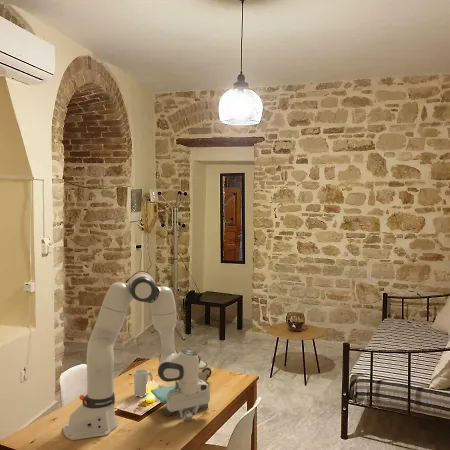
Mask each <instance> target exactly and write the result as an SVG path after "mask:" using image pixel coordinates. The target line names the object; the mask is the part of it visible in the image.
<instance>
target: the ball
mask: <svg viewBox="0 0 450 450" xmlns="http://www.w3.org/2000/svg"><path fill="white" fill-rule="evenodd" d="M164 414H165V415H166V416H167V417H169V416H172V415H173V414H174V411H173V412H170V411H169V410H168V409H167V407H165V408H164Z"/></svg>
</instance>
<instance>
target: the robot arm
mask: <svg viewBox="0 0 450 450" xmlns="http://www.w3.org/2000/svg"><path fill="white" fill-rule="evenodd" d="M133 300H136V301H138V302H142V303H148V304H149V306H150V314H151V315H150V316H151V320H152V324H153V327H154V329H155V331H157V332H158V333H159V337H160V344H161V352H160V355H159V359H158V367H157V375H158V377H159V378H160V380H162V381H163V382H165V383H167V382H168V383H169V382H175V381H177V380H179V388H178V389H174V390H170V391H169V392H170V393H169V392H168V393H167V403H166V404H165V405H166V407H167V409H168V410H169V411H170V412H173V413H174V412H177V411H178V413H179V417H180V419H185V414H184V413H182V412H181V411H183V409H186V408H190V407H194V406H195V408H194V410H193V411H192V414H193V416H197V412H198V411H199V410H198V408H199V405H203V404H207V403H208V404H209V403H210V401H211V392H210V390H209V387H210V386H209V384H208V383H207V381H206V382H204V381H203V380H199V378H198V372H199V357H198V356H199V355H198V354H197V352H196V351H194V350H191V349H186V348H185V349H182V350H180V351H179V352H178V350H177V349H176V340H175V339H176V338H175V329H176V326H177V320H178V319H177V314H178V313H177V305H176V301H175V295H174V293H173V290H172V289H171V288H170V287H169V286H164V285H162V286H158V285H157V284H156V282H155V279H154V277H153V276H152V274H151V273H149V272H147V271H143V270H139V271H137V272H135V273H133V274H132V275H131V276H130V277H129V278H128V279H126V281H125V282H121V281H120V282H119V281H118V282H114V283H112V284H111V285H110V286H109V288H108V290H107V291H106V294H105V295H104V298H103V300H102V303H101V307H100V310H99V313H98V316H97V318H96V322H95V324H94V326H93V329H92V332H91V334H90V337H89V339H88V343H87V347H86V348H87V350H86V385H87V386H86V390H87V391H86V395H84V394H80V396H78V397H79V400H80V401H82V404H81V405H80V406H78V407H77V408H76V409H74V411H72V412H71V413H70V415H69V418H68V423H65V424H64V425H63V427H62V432H63V435H64V436H65V437H66V438H67V439H68V440H70V441H75V440H83V439H88V438H89V439H90V438H96V437H103V436H108V435H110V433H111V432H112V431H113V430H115V429H116V428H117V426H118V421H117V417H116V413H115V405H116V404H115V403H116V396H115V395H116V394H115V392H114V371H115V370H114V367H115V366H114V365H115V364H114V363H115V362H114V360H115V359H114V358H115V354H114V353H115V349H114V347H115V343H116V341H117V339H118V336H119V334H120V332H121V330H122V327H123V324H124V322H125V318H126V315H127V312H128V310H129V306H130V304H131V302H132V301H133ZM166 407H165V408H166Z"/></svg>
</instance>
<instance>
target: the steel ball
mask: <svg viewBox="0 0 450 450" xmlns="http://www.w3.org/2000/svg"><path fill="white" fill-rule="evenodd" d="M184 414H185V418H184V419H185V421H190V420H192V419H193V414H192V412H191V411H186V412H185V413H184Z"/></svg>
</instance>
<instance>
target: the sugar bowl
mask: <svg viewBox="0 0 450 450" xmlns="http://www.w3.org/2000/svg"><path fill="white" fill-rule="evenodd" d="M198 360H199V372H198V378H199V380H203V381H204V382H206V383H207V381H208V380H209V378H210V377H211V375H212V368H211V367H210V365H209V364H208V363H207V362H206V361H203V360H201V356H200V355H198Z"/></svg>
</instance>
